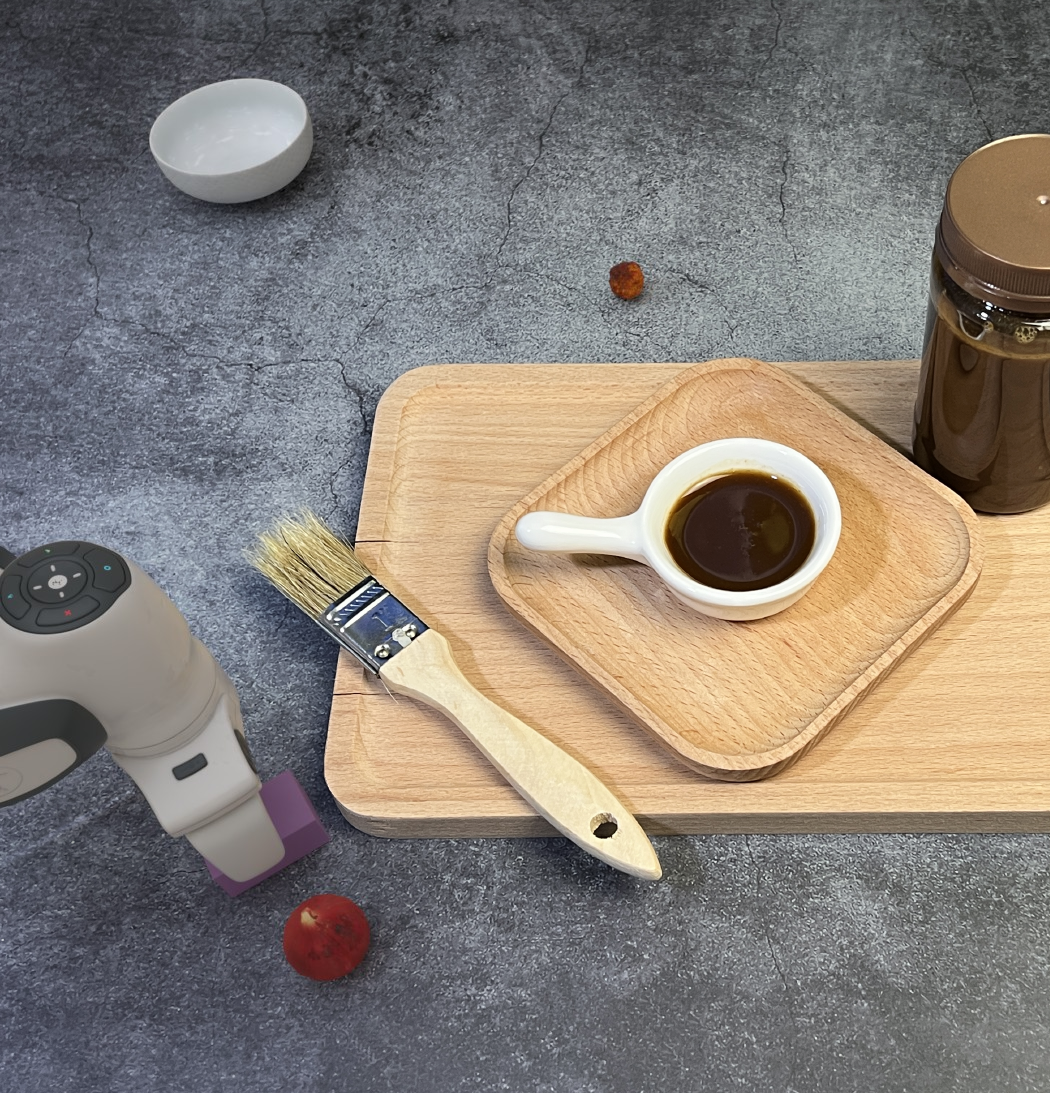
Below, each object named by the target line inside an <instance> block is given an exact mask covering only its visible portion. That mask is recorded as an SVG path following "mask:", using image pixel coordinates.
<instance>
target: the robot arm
mask: <svg viewBox="0 0 1050 1093" xmlns="http://www.w3.org/2000/svg"><path fill="white" fill-rule="evenodd" d="M102 747H103V748H104V749H105V750H106V751H107V753H109V754H110V755H111V758H112V760H113V761H114V762H115V763H116V765H118V767H119V768H121V770H123V771H124V773H125V774H127V775H128V776H129V777H130V778H131V779H132V780H133V782H135V786H136V787H137V789H138V791H139V792H140V794H141V795H142V797H143V798H144V800H145V801H146V802H145V803H147V805H148V807H149V809H150V810H151V812H152V814H153V816H154V817H155V819H156V820H157V821H158V822H159V825H160V826H161V828H162V829H163V830H164V831H165V832H166V833H167V834H168V835H169V836H170V837H171V838H175V839H176V838H177V839H178V838H179V837H182V836H184V837H185V838H186V840H188V842H189V843H190V844H191V845H192V847H193V848H194V849H195V850H196V851H197V852H198V853H199V854H200V855H201V856H202V857H203V856H204V857H205V858H206V859H207V860H208V861H209V862H210V863H212V864H213V865H214V866H215V867H216V868H218V869H219V870H220V871H221V872H223V873H224V874H225V875H227V876H228V877H229V878H231V879H232V880H234V881H237V882H244V881H247V880H250V879H252V878H254V877H256V876H258V875H260V874H262V873H263V872H265V871H267V870H268V869H270V868H272V867H273V866H275V865H276V864H277V863H279V862H280V861H281V860H282V859H283V857H284V855H285V849H284V846H283V843H282V841H281V839H280V837H279V835H278V832H277V830H276V828H275V826H274V824H273V822H272V820H271V818H270V816H269V814H268V812H267V810H266V808H265V806H264V804H263V801H262V799H261V797H260V794H259V791H260V790H261V788H262V784H263V783H262V781H261V779H260V777H259V774H258V773H259V772H258V769H257V766H256V763H255V762H254V759H253V757H252V753H251V751H250V748H249V744H248V742H247V740H246V735H245V729H244V722H243V717H242V713H241V700H240V694H239V691H238V689H237V687H236V685H235V683H234V681H232V679H231V678H230V676H229V675H228V674H227V672H226V671H225V670H224V669H223V667H222V665H221V664H220V663H219V662H218V660H217V659H216V657H215V656H214V654H212V652H211V651H210V650H209V648H208V647H207V646H206V644H205V643H203V641H201V639H199V638H198V637H196V636H195V635H194V634H192V633H191V629H190V626H189V624H188V622H187V620H186V618H185V616H184V615H183V613H182V612H181V610H180V609H179V608H178V607H177V605H176V604H175V602H173V600H172V599H171V598H170V597H169V596H168V594H167V593H166V592H165V591H164V590H163V588H161V586H160V585H159V584H158V583H157V582H156V581H155V580H154V579H153V578H152V577H151V576H150V574H148V573H147V572H146V571H145V570H144V569H143V568H142V567H140V565H138V564H137V563H136V562H135V561H133V560H132V559H131V558H129V557H128V556H126V555H125V554H124V553H121V552H119V551H118V550H116V549H113V548H112V547H109V546H106V545H103V544H100V543H97V542H93V541H89V540H79V539H65V540H56V541H52V542H48V543H44V544H41V545H39V546H36V547H33V548H31V549H29V550H27V551H26V552H24V553H22V554H21V555H19V556H16V555H15V554H14V553H13V552H11V551H10V550H8V549H7V548H5V547H4V546H1V545H0V809H3V808H7V807H10V806H13V805H16V804H18V803H21V802H23V801H26V800H28V799H30V798H32V797H35V796H37V795H39V794H41V793H43V792H44V791H46V790H49V788H52V787H53V786H54V785H56V784H58V783H59V782H60V781H62V780H63V779H65V778H66V777H67V776H69V775H70V774H71V773H72V772H74V771H75V770H76V769H77V768H79V767H80V766H82V764H85V762H87V761H89V759H91V758H92V757H93V756H94V755H95V754H96V753H98V751H100V750H101V748H102Z"/></svg>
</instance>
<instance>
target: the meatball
mask: <svg viewBox="0 0 1050 1093" xmlns="http://www.w3.org/2000/svg"><path fill="white" fill-rule="evenodd" d="M608 274H609V277H610V278H609V279H608V283H609V287H610V289H611V292H612V293H613V294H614V295H616V297H617V298H621V299H625V300H631V299H634V298H636V297H637V296H639V294H641V293H642V290H643V289H644V285H645V282H644V280H645V276H644V274H643V271H642V268H641V265H640V264H639V263H638V262H635V261H621V262H619V263H617V264H616V265H614V266H612V267H611V268H610V269H609V273H608Z"/></svg>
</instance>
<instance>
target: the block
mask: <svg viewBox="0 0 1050 1093" xmlns="http://www.w3.org/2000/svg"><path fill="white" fill-rule="evenodd" d="M259 794H260V797H261V799H262V801H263V804H264V806H265V808H266V810H267V812H268V814H269V816H270V818H271V820H272V822H273V824H274V826H275V828H276V830H277V832H278V835H279V837H280V839H281V841H282V843H283V846H284V849H285V855H284V857H283V859H282V860H281V861H280V862H279V863H277V864H276V865H275V866H273V867H272V868H270V869H268V870H267V871H265V872H263V873H262V874H260V875H258V876H256V877H254V878H252V879H250V880H247V881H244V882H237V881H234V880H232V879H231V878H229V877H228V876H227V875H225V874H224V873H223V872H221V871H220V870H219V869H218V868H216V867H215V866H214V865H213V864H212V863H210V862H209V861H208V860H207V859H206V858H205V857H204V856H202V858H203V860H204V863H205V865H206V867H207V869H208V871H209V873H210V876H211V877H212V880H213V881H214V882H215V883H217V885H218V886H219V887H220V888H221V889H223V891H224V892H225V893H226V894H228V896H230V897H231V898H232V899H234V898H237V896H239V895H241V894H242V893H244V892H246V891H247V890H249V889H251V888H253V887H255V886H256V885H258V884H259V883H261V882H263V881H264V880H266V879H268V878H270V877H272V876H273V875H275V874H276V873H278V872H280V871H281V870H283V869H285V868H287V867H289V866H290V865H292V864H293V863H295V862H296V861H298V860H300V859H302V858H304V857H305V856H307V855H309V854H310V853H312V852H314V851H315V850H317V849H319V848H320V847H323V846H324V845H325V844H327V843H329V842H331V837H330V836H329V833H328V832H327V830H326V828H325V825H324V824H323V822H322V820H321V819H320V818H321V817H319V815H318V812H317V810H316V809H315V807H314V805H313V803H312V800H311V799H310V797H309V795H308V793H307V791H306V789H305V788H304V786H302V784H301V783H300V782H299V780H298V779H297V777H295V775H294V773H293V772H292V770H290V769H286V770H285V771H283V772H281V773H279V774H278V775H276V776H274V777H272V778H271V779H269V780H267V781H266V782H264V783H262V788H261V790H260V791H259Z"/></svg>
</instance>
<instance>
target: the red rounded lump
mask: <svg viewBox="0 0 1050 1093" xmlns="http://www.w3.org/2000/svg"><path fill="white" fill-rule="evenodd" d="M282 936H283V937H282V949H283V952H284V956H285V959H286V961H287V963H288V964H289V965H290V966H291V967H292V968H293V969H294V971H295V972H296V973H297V974H298V975H300V976H301V977H305V978H309V979H311V980H314V981H316V982H331V981H334V980H337V979H340V978H341V977H344V976H346V975H347V976H348V975H349V974H350V973H351V972H352V971H353V970H354V969H355V968H357V967H358V966H359V965H360V964H361V963H362V962H363V961H364V958H365V956H366V954H367V952H368V951H369V948H370V943H371V942H370V941H371V927H370V924H369V922H368V919H367V917H366V915H365V912H364V911H363V910H362V908H361V907H360V906H358V905H357V904H356V903H355V901H352V900H351V899H350V897H349V898H348V897H346V896H341V895H337V894H335V893H324V894H314V895H313V896H312V897H309V898H308V899H305V900H304V901H302V902H301V903H300V904H299V905H298V906H297V907H296V908H295V909H294V910H293V911H292V912H291V913H290V915H289V918H288V919H287V921H286V923H285V925H284V929H283V935H282Z"/></svg>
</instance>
